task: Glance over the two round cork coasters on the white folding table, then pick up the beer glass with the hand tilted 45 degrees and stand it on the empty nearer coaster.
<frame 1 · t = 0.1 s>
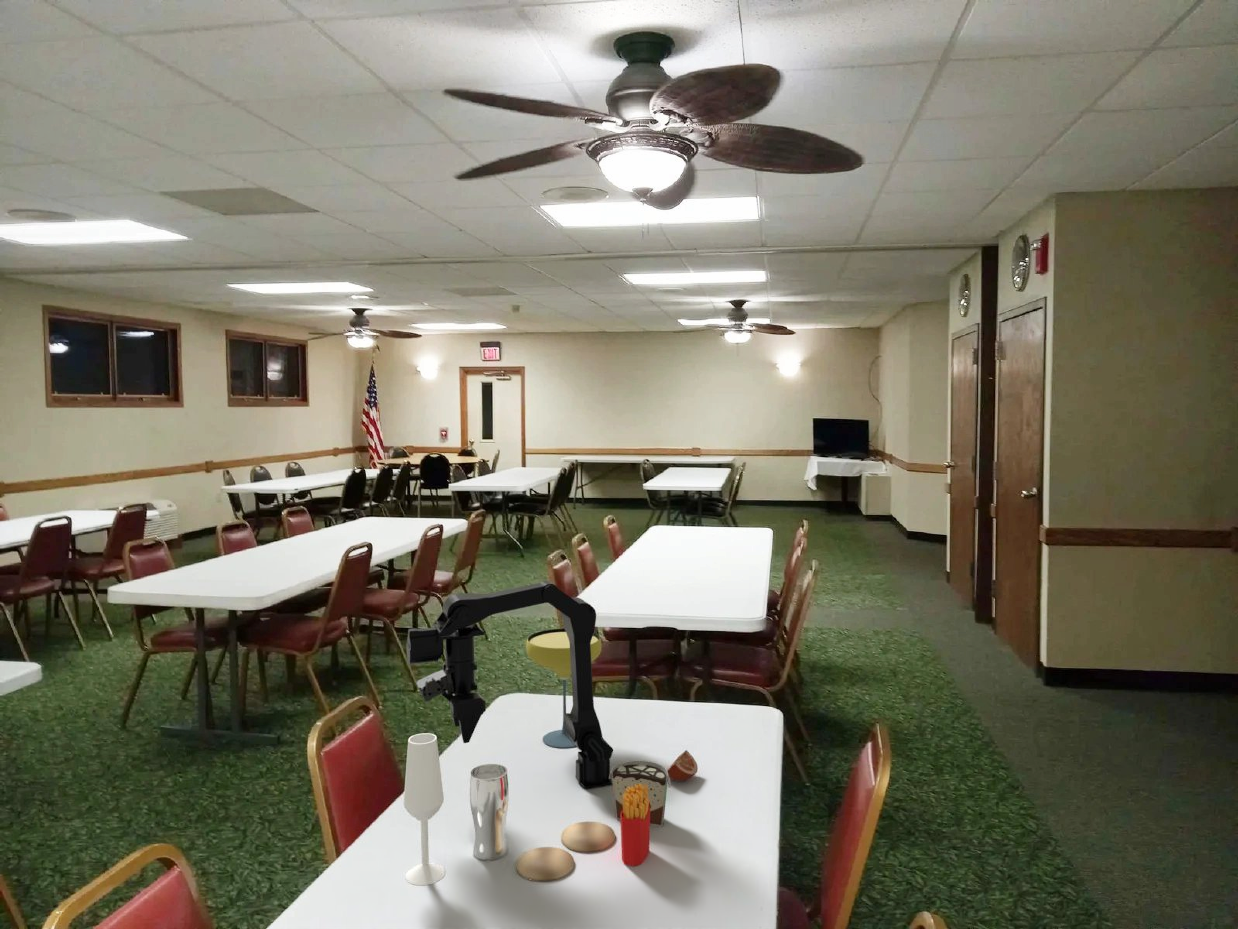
hand: (461, 734, 167), 15 cm above the table, tool pointing down, fingers open, 9 cm apart
coaster 2: (587, 838, 155), on the table
cocktail glass: (565, 740, 201), on the table
fruit slice: (681, 779, 179), on the table
french fries: (636, 856, 149), on the table
champagne flute: (425, 875, 143), on the table
coaster 1: (545, 865, 146), on the table
food container: (643, 816, 163), on the table
beer glass: (490, 853, 150), on the table
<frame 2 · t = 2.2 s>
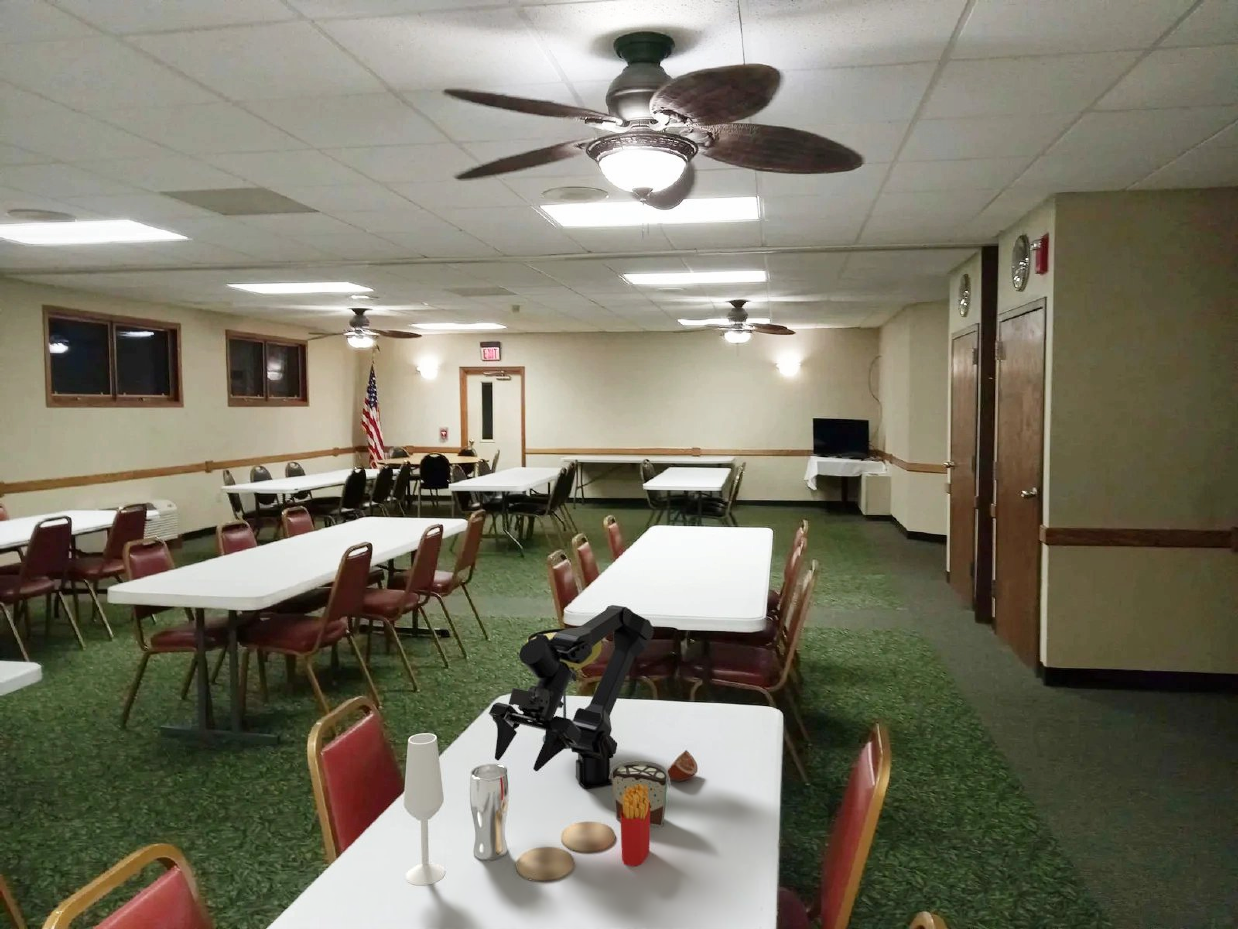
hand: (515, 765, 155), 13 cm above the table, tool tilted 45°, fingers open, 9 cm apart
nothing on the table moved.
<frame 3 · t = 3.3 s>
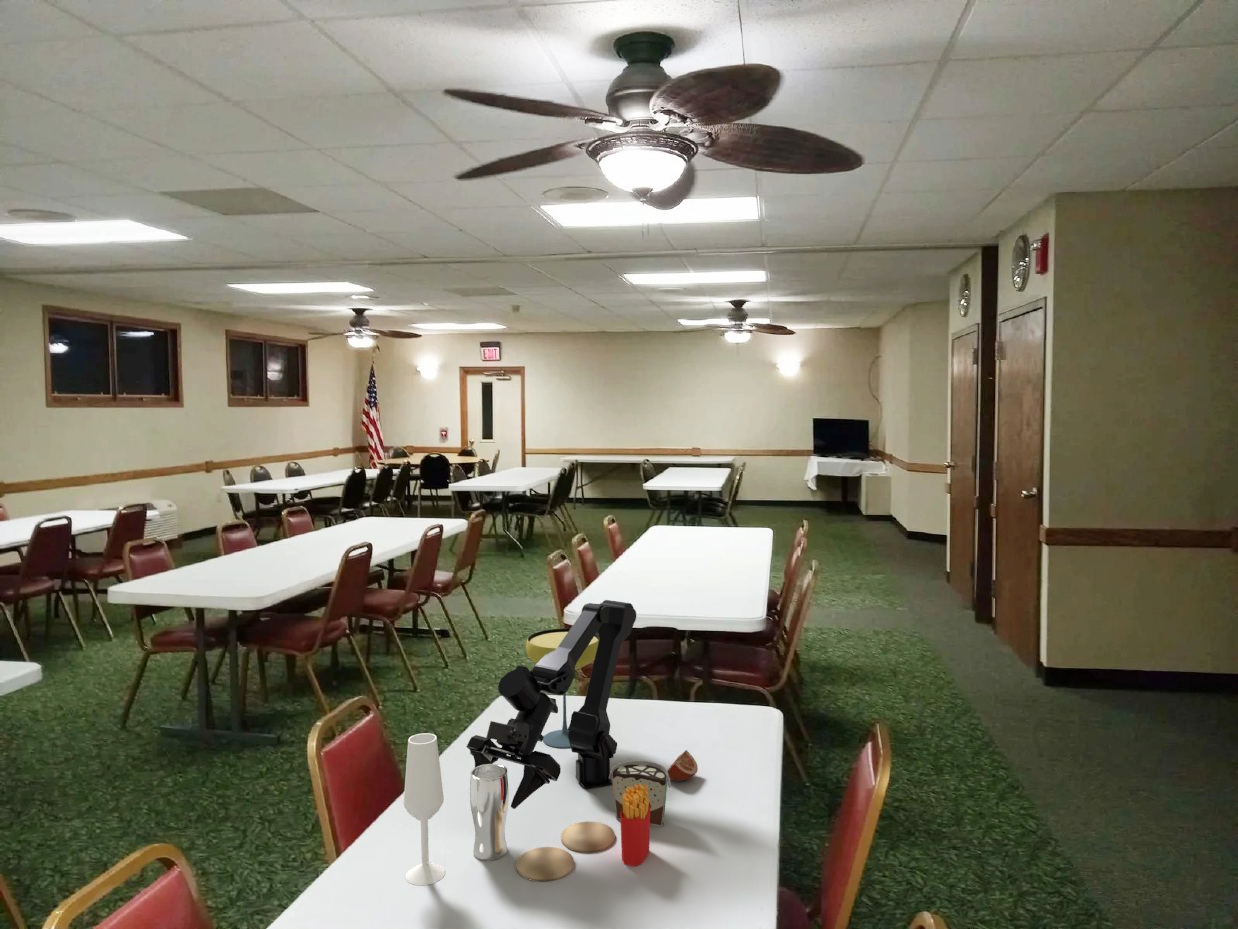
hand: (492, 801, 150), 9 cm above the table, tool tilted 45°, fingers open, 9 cm apart
nothing on the table moved.
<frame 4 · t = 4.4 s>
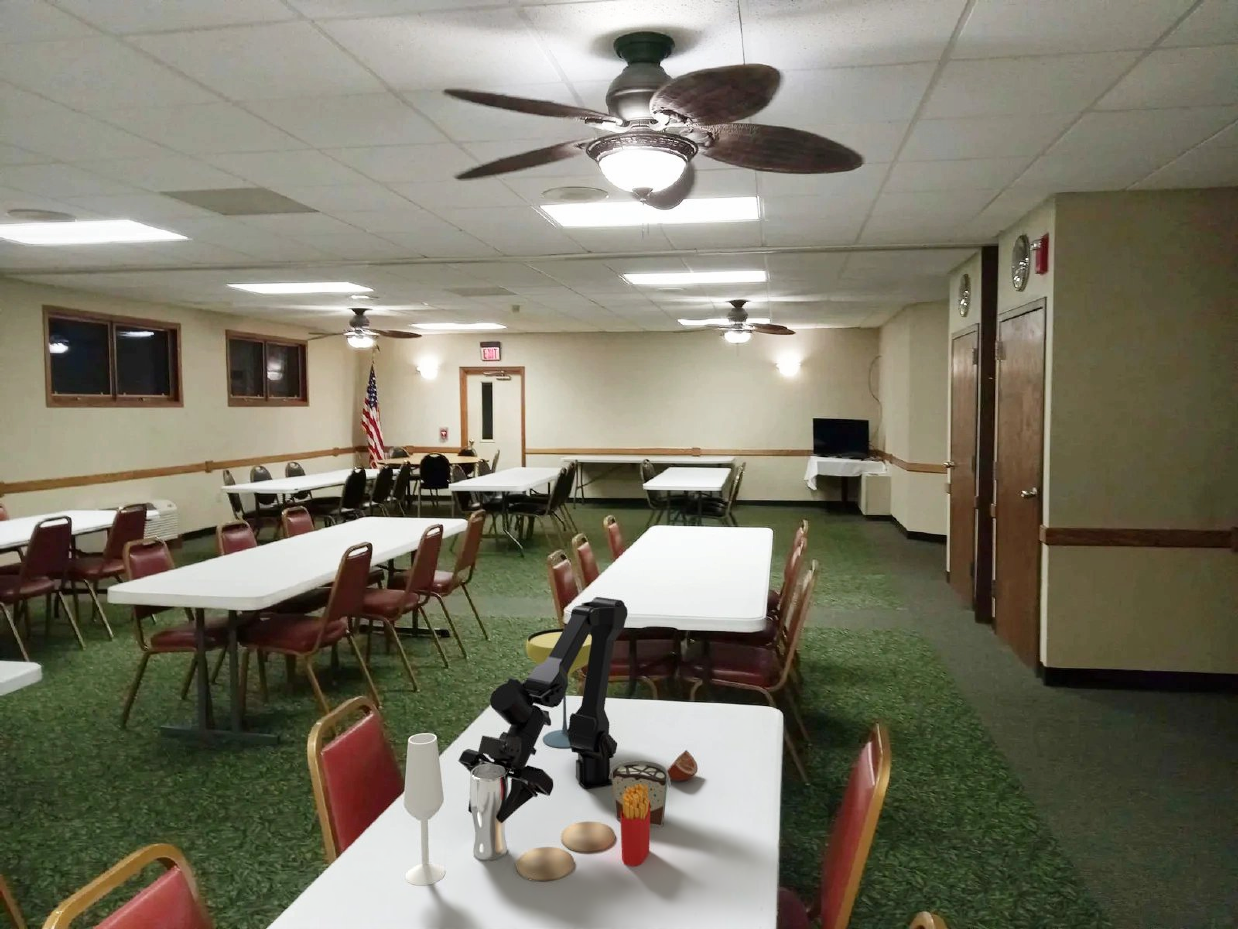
hand: (484, 817, 148), 7 cm above the table, tool tilted 45°, fingers closed on beer glass, 7 cm apart
beer glass: (490, 853, 150), on the table, touching gripper
everything else where it was.
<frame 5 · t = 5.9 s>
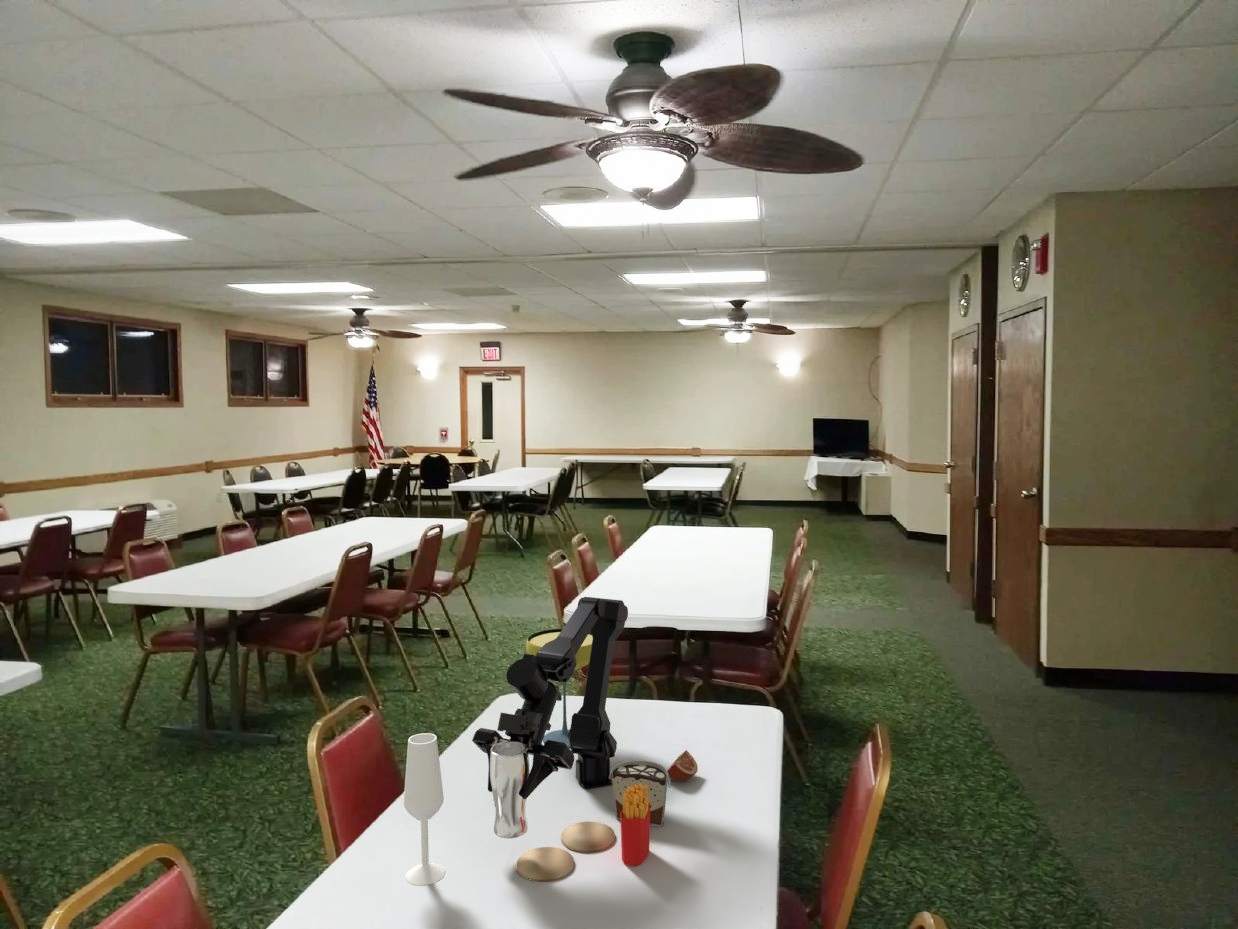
hand: (506, 794, 146), 12 cm above the table, tool tilted 45°, fingers closed on beer glass, 7 cm apart
beer glass: (511, 831, 148), point 5 cm above the table, touching gripper
everything else where it was.
when the fingers open (9 cm above the table, at t = 7.7 s): beer glass stays where it is, resting on coaster 1.
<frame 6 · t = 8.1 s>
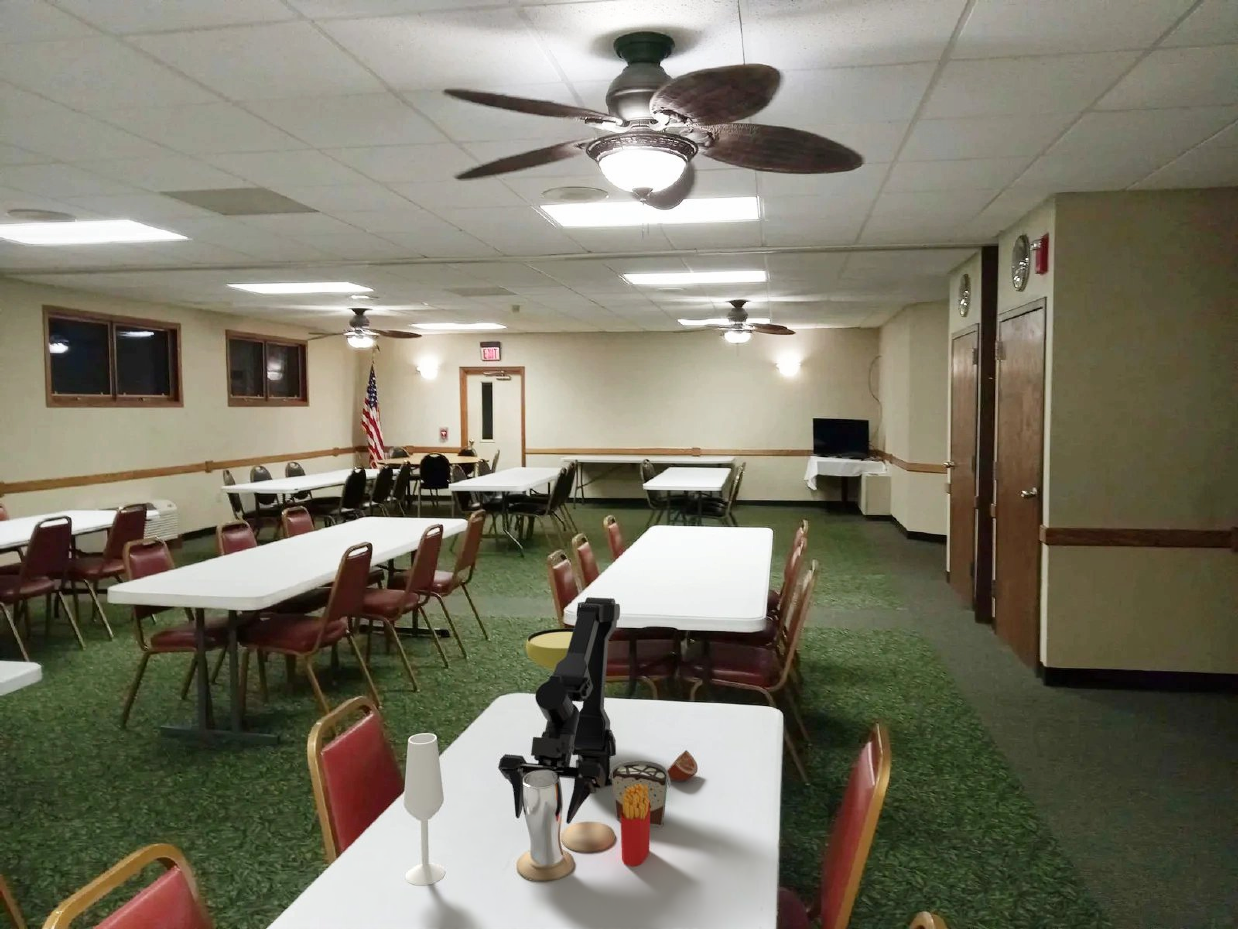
hand: (542, 820, 144), 9 cm above the table, tool tilted 45°, fingers open, 9 cm apart
beer glass: (546, 860, 146), point 1 cm above the table, touching coaster 1, gripper
everything else where it was.
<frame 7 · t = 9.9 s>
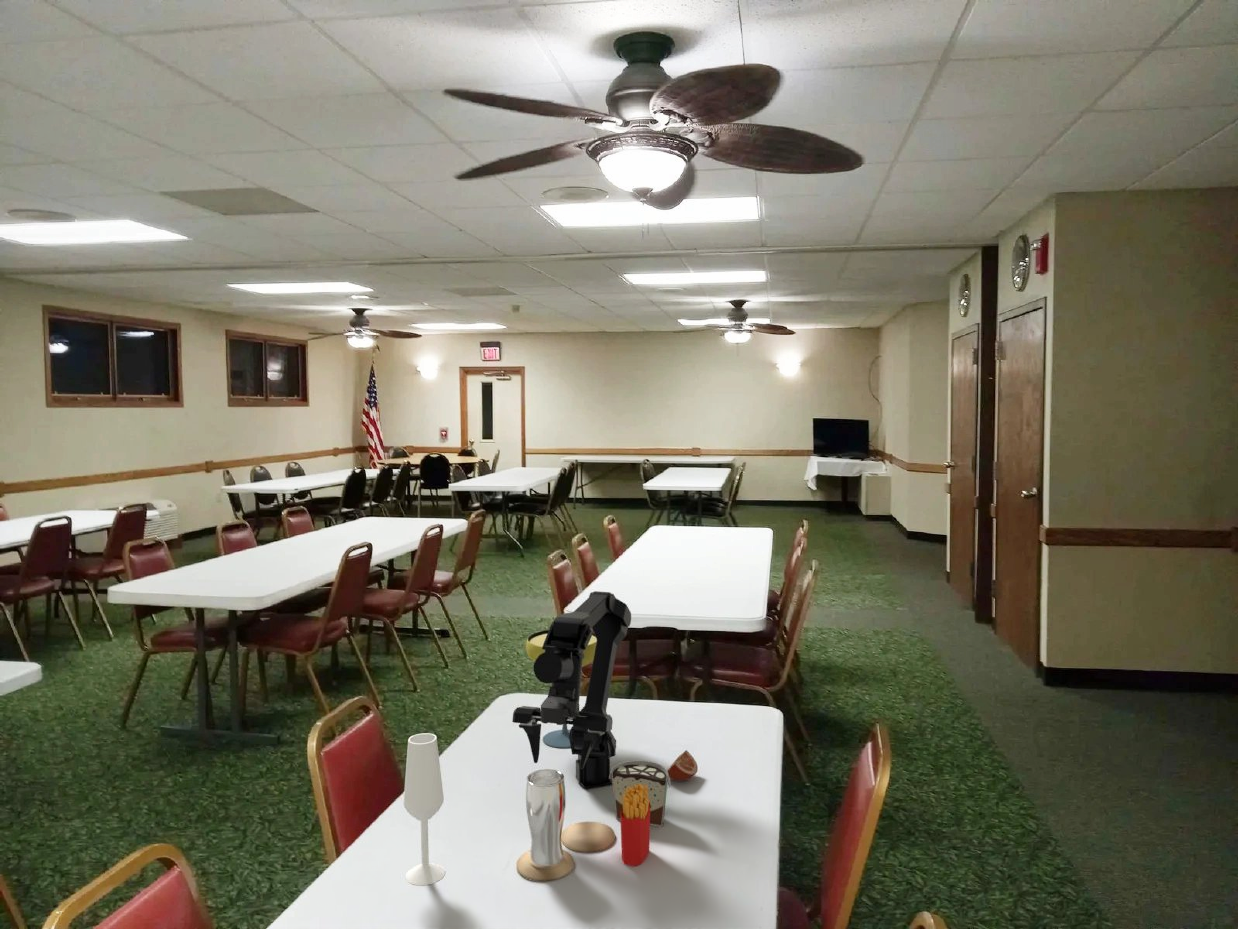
hand: (558, 765, 159), 12 cm above the table, tool tilted 15°, fingers open, 9 cm apart
beer glass: (546, 861, 146), resting on coaster 1
everything else where it was.
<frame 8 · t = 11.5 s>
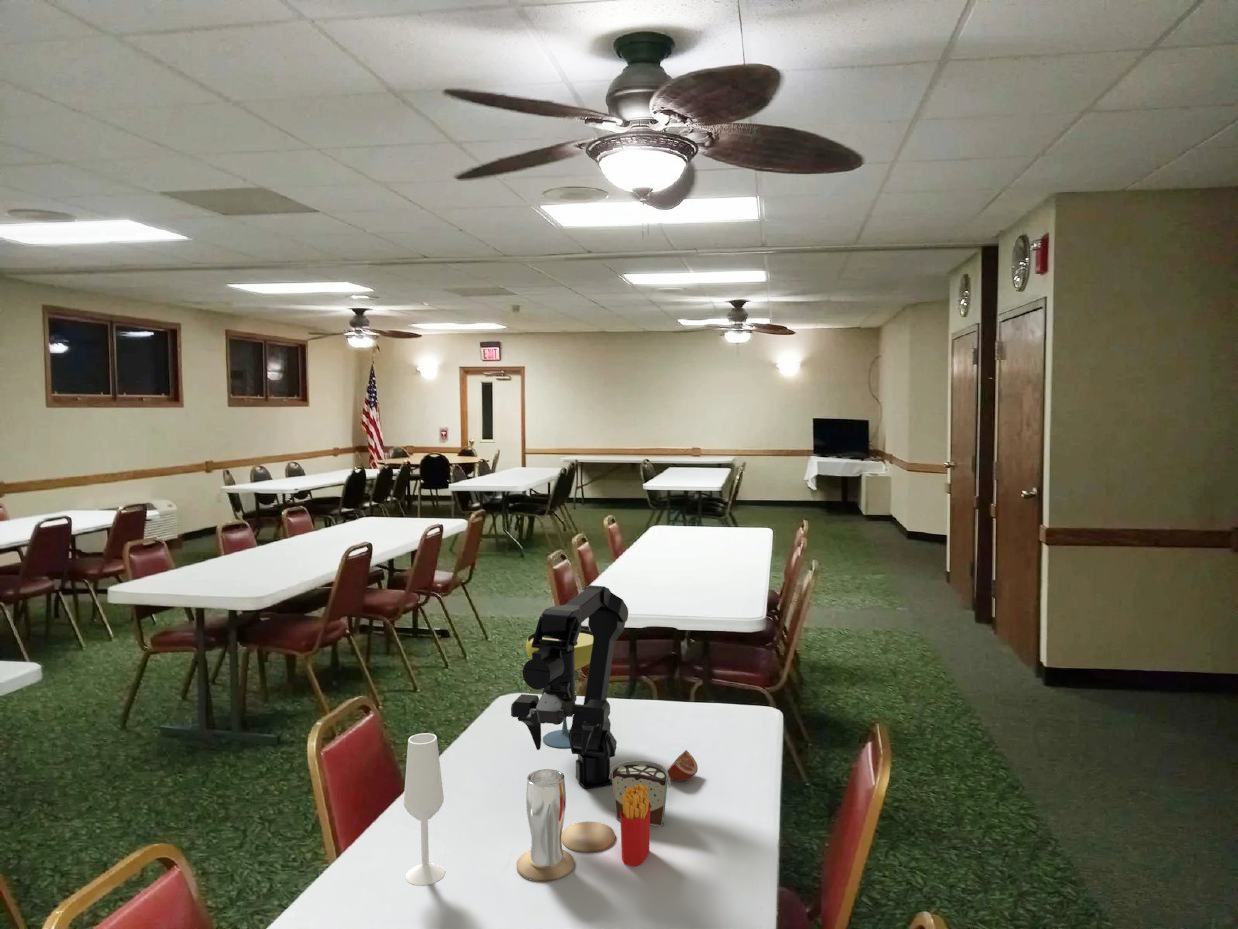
hand: (561, 751, 162), 13 cm above the table, tool pointing down, fingers open, 9 cm apart
nothing on the table moved.
at the end: beer glass 0.7 cm from the coaster 1 (horizontally); beer glass tilted 0°; beer glass resting on coaster 1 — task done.
